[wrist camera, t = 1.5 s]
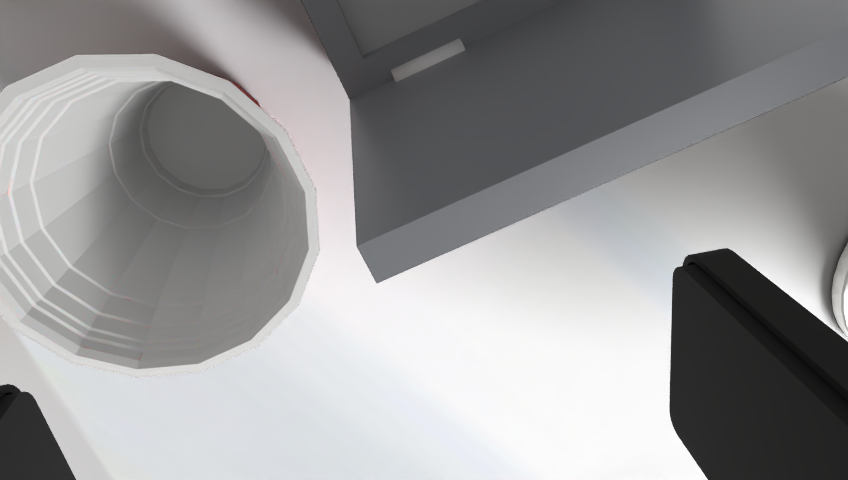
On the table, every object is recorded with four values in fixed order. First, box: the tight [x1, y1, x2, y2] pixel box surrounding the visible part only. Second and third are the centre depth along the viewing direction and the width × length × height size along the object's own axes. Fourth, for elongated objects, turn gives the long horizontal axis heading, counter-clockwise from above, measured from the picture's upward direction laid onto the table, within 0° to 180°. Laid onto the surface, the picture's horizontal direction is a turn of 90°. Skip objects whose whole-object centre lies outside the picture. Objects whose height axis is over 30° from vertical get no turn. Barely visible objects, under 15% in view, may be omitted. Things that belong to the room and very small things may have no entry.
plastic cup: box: [0, 54, 319, 378], centre depth 25 cm, size 11×11×12 cm
